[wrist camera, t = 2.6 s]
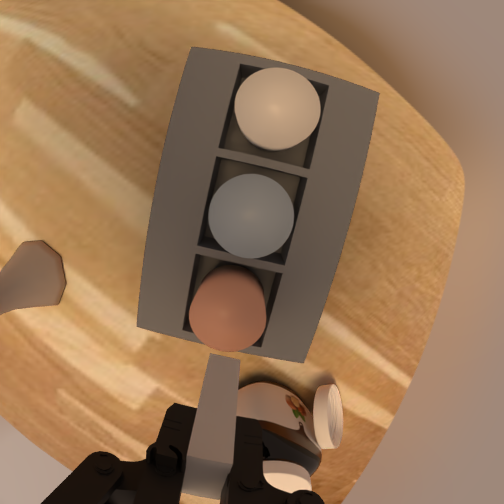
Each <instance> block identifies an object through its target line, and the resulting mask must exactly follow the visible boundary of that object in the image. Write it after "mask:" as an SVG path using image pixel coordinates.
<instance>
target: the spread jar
mask: <svg viewBox="0 0 504 504" xmlns="http://www.w3.org/2000/svg"><path fill="white" fill-rule="evenodd" d="M236 416H241V417H247V418H253V419H257V420H258V422H259V424H260V425H261V427H262V447H263V474H264V477H265V479H266V481H267V482H268V483H269V484H270V485H272V486H273V487H275V488H277V489H280V490H283V491H286V492H289V493H293V492H294V491H297V490H310V491H311V481H310V477H311V476H312V475H313V474H314V473H315V471H316V470H317V469H318V467H319V465H320V463H321V458H322V454H321V448H322V449H331V448H337V447H339V445H340V442H341V439H342V433H343V410H342V402H341V397H340V393H339V390H338V388H337V386H336V385H335V384H328V385H321V386H319V387H318V389H317V391H316V394H315V398H314V407H313V417H312V415H311V413H310V412H309V410H308V409H307V407H306V406H305V404H304V403H303V402H302V400H301V399H300V398H299V397H298V396H297V395H296V394H295V393H294V392H293V391H292V390H290V389H289V388H287V387H285V386H283V385H281V384H278V383H274V382H269V381H259V382H254V383H250V384H248V385H246V386H243V387H242V388H240V389H238V399H237V413H236Z"/></svg>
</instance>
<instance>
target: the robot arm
mask: <svg viewBox="0 0 504 504" xmlns="http://www.w3.org/2000/svg"><path fill="white" fill-rule="evenodd" d="M239 371H240V360H239V359H234V358H229V357H225V356H220V355H216V354H211V353H210V356H209V360H208V365H207V369H206V373H205V377H204V382H203V386H202V390H201V395H200V399H199V403H198V408H193V407H189V406H185V405H181V404H177V403H174V404H173V405H172V406H170V407H169V408H168V409H167V411H166V414H165V417H164V420H163V423H162V426H161V429H160V432H159V435H158V437H157V440H156V442H155V443H153V444H151V445H150V446H149V447H148V449H147V450H146V459H144V460H142V461H138V462H128V461H120V460H119V458H117V457H116V456H115V455H113V454H111V453H108V452H102V451H99V452H94V453H92V454H90V455H89V456H88V457H87V458H86V459H85V460H84V461H83V462H82V463H81V464H80V465H79V466H78V467H77V468H76V469H75V470H74V471H73V472H72V473H71V474H70V475H69V476H68V477H67V478H66V479H65V480H64V481H63V482H62V483H61V484H60V485H59V486H58V487H57V488H56V489H55V490H54V491H53V492H52V493H51V494H50V495H49V496H48V497H47V498H46V499H45V500H44V501H43V502H42V503H41V504H179V501H180V496H181V493H186V494H190V495H195V496H200V497H206V498H211V499H217V500H219V499H220V504H324V502H323V500H322V499H321V497H320V496H319V495H318V494H316V493H315V492H313V491H310V490H297V491H294V492H293V493H289V492H286V491H283V490H280V489H277V488H275V487H273V486H272V485H270V484H269V483H268V482H267V481H266V479H265V477H264V474H263V447H262V427H261V425H260V424H259V422H258V420H257V419H253V418H247V417H241V416H236V413H237V399H238V385H239ZM220 497H221V498H220Z"/></svg>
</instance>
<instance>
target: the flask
mask: <svg viewBox="0 0 504 504" xmlns="http://www.w3.org/2000/svg"><path fill="white" fill-rule="evenodd" d="M65 285H66V283H65V278H64V273H63V268H62V262H61V257H60V256H59V255H58V254H57V253H56V252H54V251H53V250H52V249H51V248H50V247H48V246H47V245H46V244H45V243H44V242H42V241H30V242H23V243H22V244H21V245H20V246H19V248H18V249H17V250H16V252H15V253H14V254H13V256H12V257H11V259H10V260H9V261H8V262H7V264H6V265H5V266H4V268H3V269H2V270H1V272H0V315H1V314H3V313H6V312H9V311H12V310H15V309H22V308H30V307H40V306H52V305H58V304H59V301H60V298H61V296H62V293H63V290H64V288H65Z"/></svg>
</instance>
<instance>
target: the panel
mask: <svg viewBox="0 0 504 504" xmlns="http://www.w3.org/2000/svg"><path fill="white" fill-rule="evenodd" d="M267 68H285V69H289V70H292V71H295V72H297V73H299V74H300V75H302V76H303V77H305V78H306V79H307V80H308V81H309V82H310V83H311V84H312V86H313V87H314V89H315V90H316V92H317V94H318V97H319V101H320V118H319V121H318V123H317V126H316V127H315V129H314V131H313V132H312V133H311V134H310V135H309V136H308V137H307V138H306V139H304V140H303V141H301V142H300V143H298V144H297V145H295V146H294V147H292V148H290V149H288V150H285V151H281V152H268V151H264V150H261V149H258V148H256V147H255V146H253V145H252V144H250V143H249V142H248V141H247V140H246V139H245V137H244V136H243V134H242V133H241V131H240V128H239V125H238V122H237V118H236V114H235V98H236V94H237V92H238V90H239V88H240V86H241V85H242V83H243V82H244V81H245V80H246V79H247V78H248V77H249V76H251V75H252V74H254V73H255V72H258V71H260V70H263V69H267ZM378 99H379V93H378V92H376V91H373V90H370V89H368V88H365V87H362V86H360V85H357V84H354V83H351V82H348V81H345V80H342V79H339V78H336V77H333V76H330V75H327V74H323V73H320V72H317V71H313V70H310V69H306V68H302V67H299V66H295V65H291V64H287V63H283V62H279V61H274V60H270V59H265V58H260V57H256V56H250V55H245V54H240V53H234V52H228V51H221V50H215V49H207V48H199V47H191V49H190V52H189V56H188V59H187V62H186V65H185V68H184V72H183V75H182V79H181V82H180V85H179V89H178V93H177V96H176V100H175V104H174V107H173V111H172V115H171V119H170V123H169V127H168V131H167V135H166V139H165V144H164V148H163V153H162V157H161V162H160V167H159V171H158V176H157V181H156V186H155V192H154V197H153V202H152V208H151V214H150V220H149V226H148V232H147V239H146V246H145V253H144V260H143V268H142V276H141V285H140V294H139V304H138V315H137V327H140V328H143V329H147V330H150V331H154V332H158V333H161V334H165V335H169V336H173V337H177V338H181V339H185V340H189V341H193V342H197V343H201V344H204V343H203V342H201V341H200V340H199V339H198V338H197V336H196V335H195V334H194V332H193V330H192V328H191V325H190V321H189V310H190V306H191V304H192V301H193V299H194V297H195V295H196V292H197V290H198V288H199V286H200V284H201V282H202V280H203V278H204V277H205V276H206V275H207V274H208V273H209V272H210V271H212V270H213V269H215V268H217V267H220V266H224V265H236V266H241V267H244V268H246V269H248V270H249V271H251V272H252V273H253V274H255V275H256V276H257V278H258V279H259V280H260V282H261V284H262V287H263V290H264V298H265V310H266V325H265V329H264V331H263V333H262V335H261V337H260V338H259V339H258V340H257V341H256V342H255V343H254V344H253V345H251V346H249V347H248V348H245V349H243V350H239V351H238V352H242V353H247V354H253V355H258V356H263V357H269V358H274V359H280V360H286V361H292V362H298V363H304V361H305V358H306V356H307V353H308V350H309V348H310V345H311V342H312V340H313V337H314V334H315V331H316V329H317V326H318V323H319V320H320V317H321V314H322V311H323V308H324V306H325V303H326V300H327V297H328V294H329V290H330V287H331V284H332V281H333V278H334V275H335V272H336V269H337V265H338V262H339V259H340V255H341V252H342V249H343V245H344V242H345V238H346V235H347V231H348V228H349V224H350V221H351V217H352V213H353V210H354V206H355V202H356V198H357V194H358V190H359V187H360V182H361V178H362V174H363V170H364V166H365V162H366V157H367V153H368V148H369V144H370V139H371V135H372V130H373V125H374V120H375V115H376V110H377V104H378ZM244 174H258V175H263V176H266V177H268V178H271V179H273V180H274V181H276V182H277V183H278V184H280V185H281V186H282V187H283V188H284V190H285V191H286V192H287V194H288V195H289V197H290V199H291V202H292V205H293V210H294V223H293V227H292V230H291V233H290V235H289V237H288V239H287V240H286V242H285V243H284V244H283V245H282V246H281V247H280V248H279V249H278V250H276V251H275V252H273V253H271V254H269V255H267V256H264V257H260V258H242V257H239V256H236V255H233V254H231V253H230V252H228V251H226V250H225V249H224V248H223V247H222V246H221V245H220V244H219V243H218V242H217V241H216V239H215V238H214V236H213V234H212V232H211V229H210V225H209V219H208V214H209V207H210V203H211V200H212V198H213V196H214V195H215V193H216V191H217V190H218V189H219V188H220V187H221V186H222V185H223V184H224V183H225V182H227V181H228V180H230V179H232V178H234V177H236V176H239V175H244Z"/></svg>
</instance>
